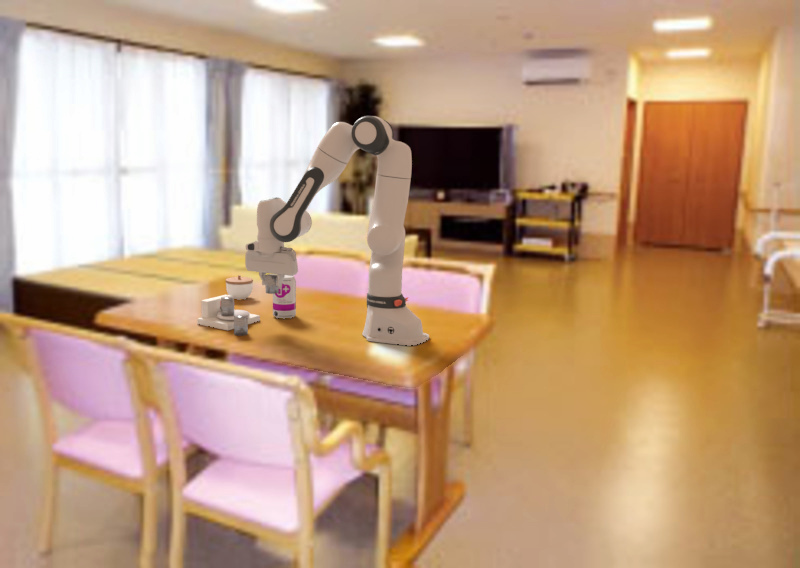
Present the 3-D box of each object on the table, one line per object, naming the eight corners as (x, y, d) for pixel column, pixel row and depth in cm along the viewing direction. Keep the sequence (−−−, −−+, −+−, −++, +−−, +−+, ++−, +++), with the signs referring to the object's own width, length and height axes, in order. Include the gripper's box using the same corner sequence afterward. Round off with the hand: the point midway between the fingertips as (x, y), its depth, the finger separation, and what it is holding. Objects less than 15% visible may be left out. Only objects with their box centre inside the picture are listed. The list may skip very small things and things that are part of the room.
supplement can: (291, 320, 249) (291, 279, 246) (269, 318, 251) (269, 277, 248) (298, 314, 257) (299, 275, 254) (277, 313, 259) (277, 273, 256)
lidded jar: (240, 294, 288) (240, 271, 286) (258, 298, 282) (258, 275, 280) (220, 298, 280) (219, 275, 278) (238, 302, 273) (238, 279, 272)
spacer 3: (281, 291, 240) (280, 274, 239) (273, 294, 236) (272, 276, 235) (271, 290, 242) (270, 273, 241) (263, 292, 238) (262, 275, 237)
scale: (260, 321, 247) (260, 299, 245) (229, 330, 233) (228, 307, 231) (229, 315, 253) (229, 293, 252) (197, 324, 240) (196, 301, 238)
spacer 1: (237, 314, 240) (236, 297, 239) (228, 317, 236) (227, 299, 235) (227, 312, 242) (227, 295, 241) (218, 315, 238) (218, 298, 237)
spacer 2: (250, 333, 231) (250, 315, 230) (241, 336, 227) (241, 318, 226) (240, 331, 233) (240, 313, 232) (231, 334, 229) (230, 316, 228)
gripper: (301, 247, 234) (302, 287, 236) (254, 242, 243) (255, 281, 246) (289, 249, 228) (290, 290, 231) (241, 244, 238) (243, 284, 241)
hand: (272, 285), depth 239 cm, fingers closed on spacer 3, 4 cm apart
